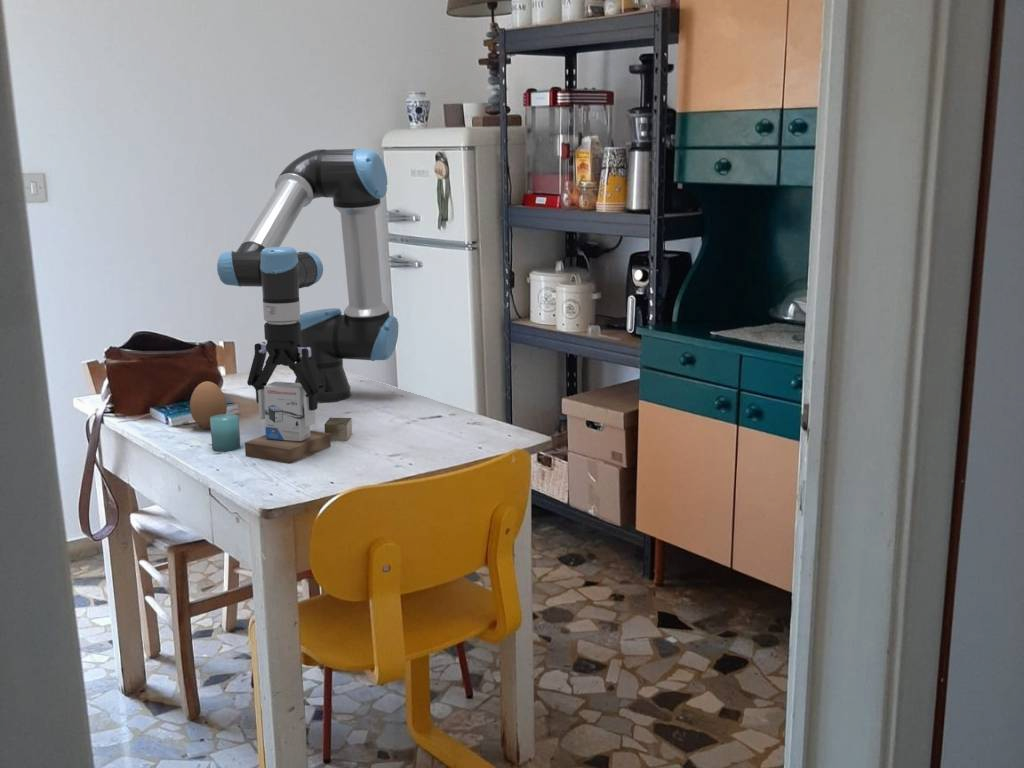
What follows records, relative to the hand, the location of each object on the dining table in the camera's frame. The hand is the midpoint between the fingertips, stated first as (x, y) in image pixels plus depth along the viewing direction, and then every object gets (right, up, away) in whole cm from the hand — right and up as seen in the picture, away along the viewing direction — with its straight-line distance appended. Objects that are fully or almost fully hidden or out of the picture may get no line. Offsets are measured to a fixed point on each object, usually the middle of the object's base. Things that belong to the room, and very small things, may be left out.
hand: (287, 421), depth 212 cm
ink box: (0, -4, +1) cm, 4 cm away
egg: (-23, -3, +20) cm, 31 cm away
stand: (0, -6, +1) cm, 7 cm away
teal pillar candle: (-14, -6, +4) cm, 16 cm away
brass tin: (+9, -4, +12) cm, 16 cm away
